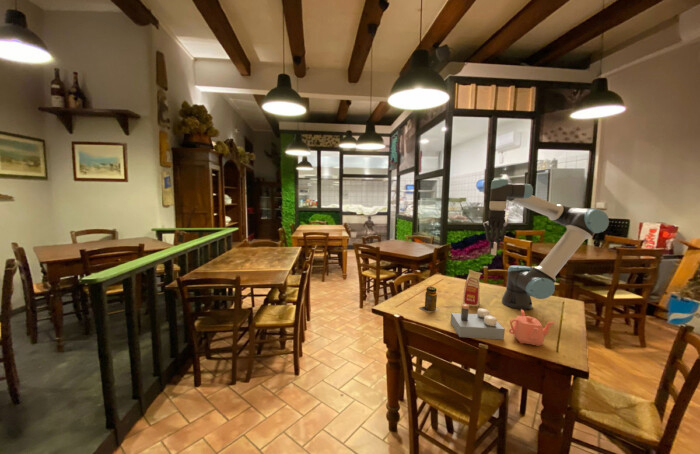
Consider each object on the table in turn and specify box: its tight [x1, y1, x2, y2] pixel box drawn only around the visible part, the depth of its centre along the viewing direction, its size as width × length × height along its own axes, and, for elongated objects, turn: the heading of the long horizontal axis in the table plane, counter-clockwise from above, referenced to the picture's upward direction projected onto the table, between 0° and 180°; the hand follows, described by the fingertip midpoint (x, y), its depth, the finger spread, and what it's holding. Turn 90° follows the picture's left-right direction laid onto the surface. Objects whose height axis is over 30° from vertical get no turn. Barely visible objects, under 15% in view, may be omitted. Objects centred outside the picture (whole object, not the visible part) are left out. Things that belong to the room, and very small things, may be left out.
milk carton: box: [462, 269, 483, 308], centre depth 159 cm, size 9×9×20 cm
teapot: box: [508, 309, 557, 346], centre depth 119 cm, size 14×14×11 cm
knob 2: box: [484, 315, 498, 327], centre depth 122 cm, size 5×5×8 cm
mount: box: [450, 312, 506, 341], centre depth 127 cm, size 19×14×5 cm
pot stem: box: [460, 303, 470, 321], centre depth 127 cm, size 3×3×7 cm
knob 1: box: [476, 307, 490, 319], centre depth 130 cm, size 5×5×8 cm
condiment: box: [419, 286, 440, 314], centre depth 150 cm, size 7×8×12 cm
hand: (493, 254), depth 142 cm, fingers closed
